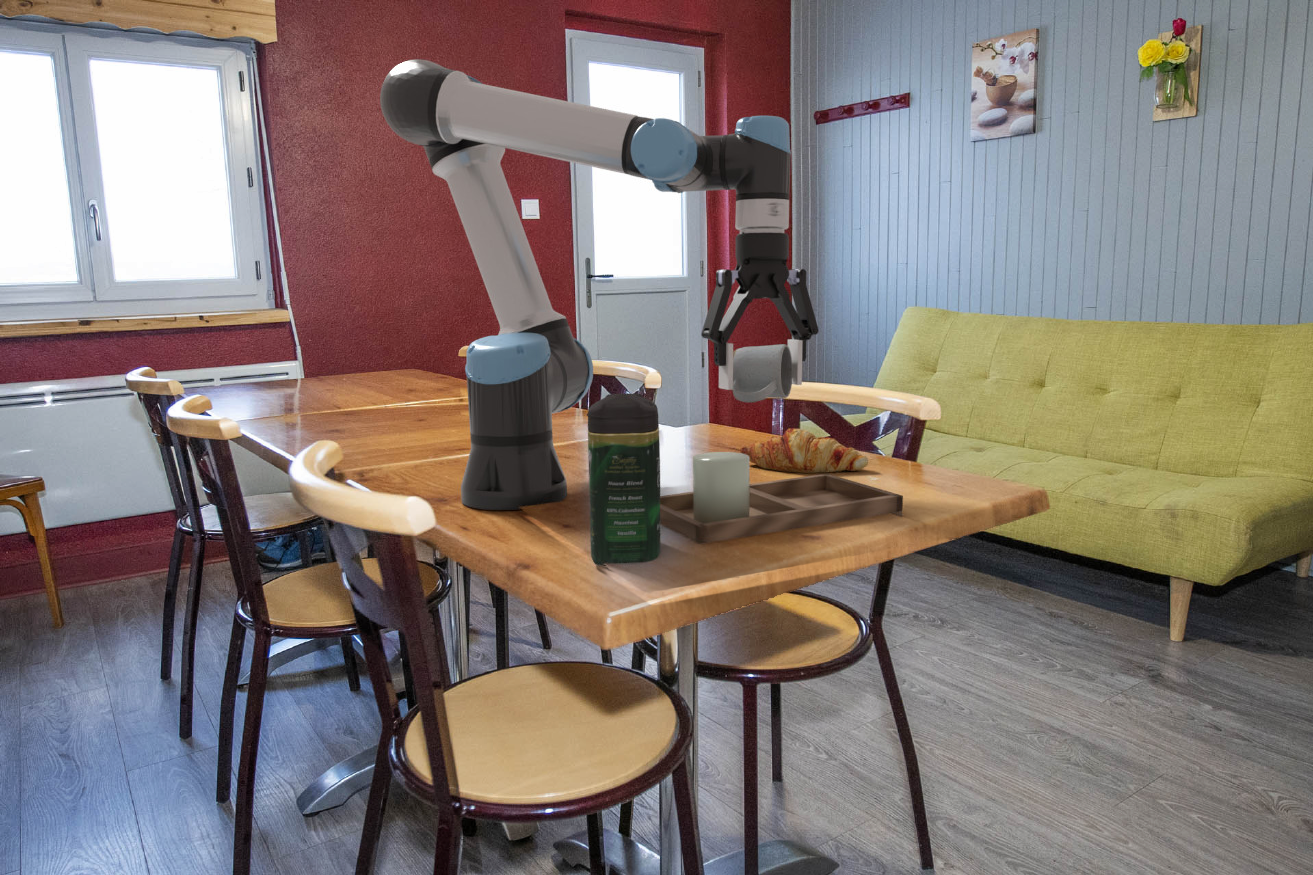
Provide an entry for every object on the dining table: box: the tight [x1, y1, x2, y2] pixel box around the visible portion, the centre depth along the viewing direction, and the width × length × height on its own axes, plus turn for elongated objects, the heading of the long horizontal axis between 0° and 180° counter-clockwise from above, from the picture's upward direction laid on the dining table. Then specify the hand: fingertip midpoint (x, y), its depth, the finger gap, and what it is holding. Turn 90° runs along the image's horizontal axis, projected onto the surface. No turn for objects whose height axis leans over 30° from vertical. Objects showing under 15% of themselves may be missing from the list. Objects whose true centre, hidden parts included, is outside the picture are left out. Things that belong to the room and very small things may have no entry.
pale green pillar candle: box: [692, 451, 751, 524], centre depth 116 cm, size 7×7×8 cm
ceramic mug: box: [731, 343, 793, 403], centre depth 134 cm, size 11×8×8 cm
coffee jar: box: [586, 393, 662, 567], centre depth 103 cm, size 10×8×19 cm
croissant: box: [739, 427, 869, 474], centre depth 152 cm, size 21×10×8 cm, turn 69°
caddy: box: [660, 473, 904, 545], centre depth 120 cm, size 30×16×3 cm, turn 116°
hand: (760, 386), depth 136 cm, fingers closed on ceramic mug, 11 cm apart
